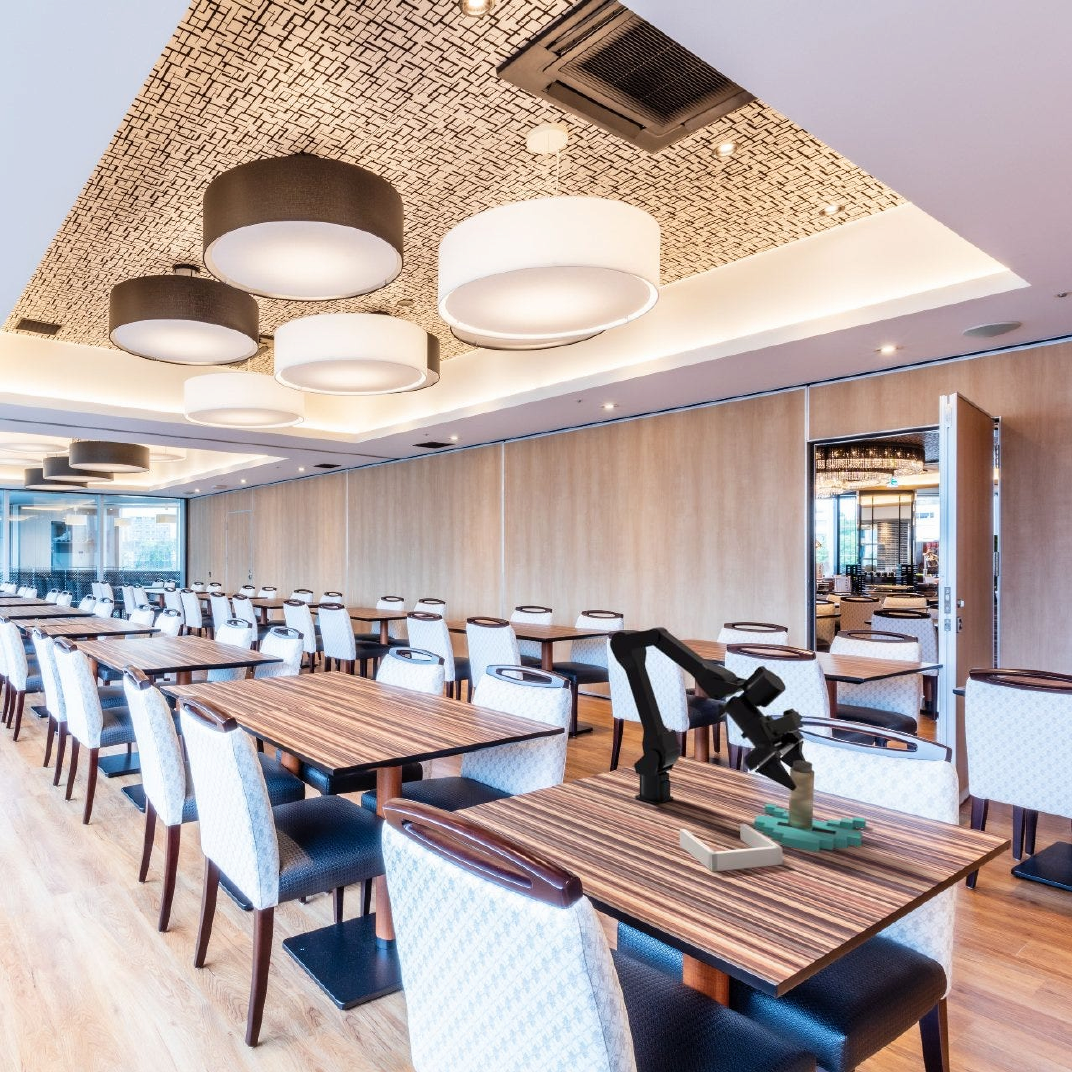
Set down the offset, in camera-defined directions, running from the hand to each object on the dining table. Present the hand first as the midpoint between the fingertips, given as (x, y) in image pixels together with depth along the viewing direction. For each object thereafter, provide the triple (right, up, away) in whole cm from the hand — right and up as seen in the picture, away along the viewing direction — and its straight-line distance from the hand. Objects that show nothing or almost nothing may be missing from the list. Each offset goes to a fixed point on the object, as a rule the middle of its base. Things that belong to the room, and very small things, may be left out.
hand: (803, 784), depth 153 cm
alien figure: (+1, -11, +1) cm, 11 cm away
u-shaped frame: (-18, -10, -11) cm, 23 cm away
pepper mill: (0, -8, +1) cm, 8 cm away
